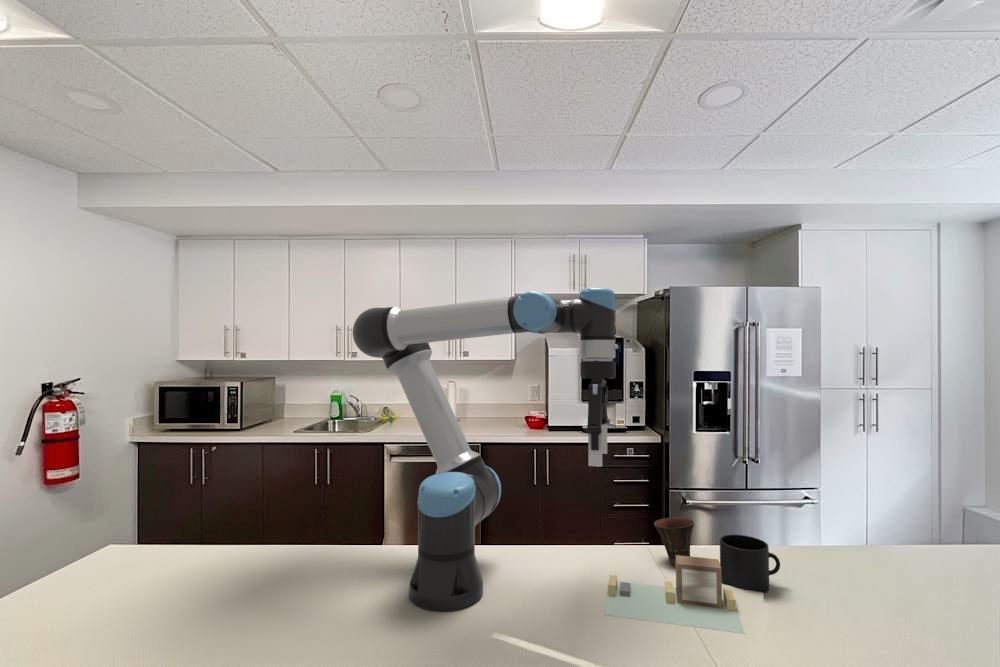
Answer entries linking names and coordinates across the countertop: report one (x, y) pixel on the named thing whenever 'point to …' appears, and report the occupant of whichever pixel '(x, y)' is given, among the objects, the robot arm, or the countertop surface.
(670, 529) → the cup
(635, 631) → the countertop surface
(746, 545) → the mug
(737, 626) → the wall board
